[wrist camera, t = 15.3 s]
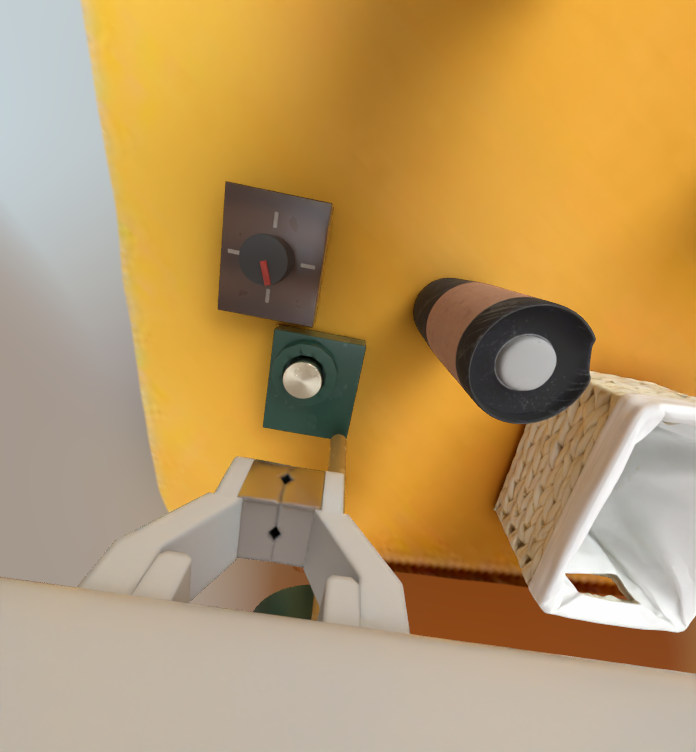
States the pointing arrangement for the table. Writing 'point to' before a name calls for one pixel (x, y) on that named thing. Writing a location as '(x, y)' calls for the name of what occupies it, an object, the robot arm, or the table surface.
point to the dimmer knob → (266, 259)
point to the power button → (303, 378)
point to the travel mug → (507, 347)
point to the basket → (609, 505)
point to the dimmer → (295, 226)
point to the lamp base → (337, 390)
